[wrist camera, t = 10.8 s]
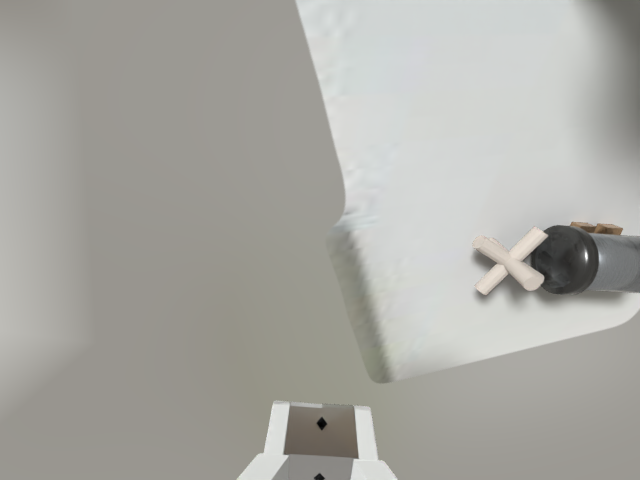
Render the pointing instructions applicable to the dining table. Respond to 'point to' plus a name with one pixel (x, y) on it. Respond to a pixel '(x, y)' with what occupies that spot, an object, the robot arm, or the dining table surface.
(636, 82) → the dining table surface
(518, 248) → the beige crossed rods piece
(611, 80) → the dining table surface
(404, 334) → the dining table surface
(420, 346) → the dining table surface
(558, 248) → the lidded storage canister
